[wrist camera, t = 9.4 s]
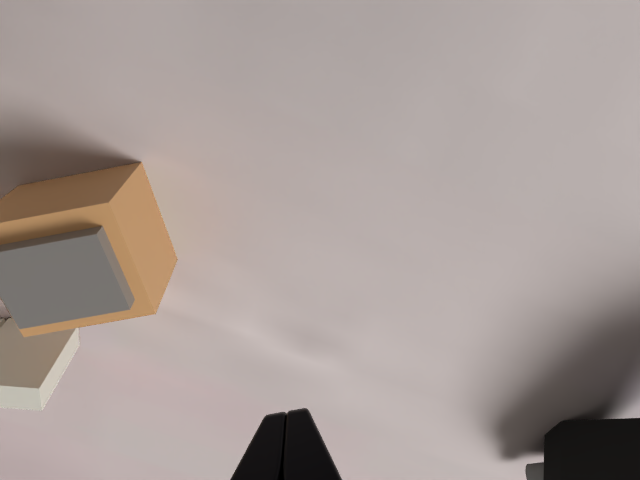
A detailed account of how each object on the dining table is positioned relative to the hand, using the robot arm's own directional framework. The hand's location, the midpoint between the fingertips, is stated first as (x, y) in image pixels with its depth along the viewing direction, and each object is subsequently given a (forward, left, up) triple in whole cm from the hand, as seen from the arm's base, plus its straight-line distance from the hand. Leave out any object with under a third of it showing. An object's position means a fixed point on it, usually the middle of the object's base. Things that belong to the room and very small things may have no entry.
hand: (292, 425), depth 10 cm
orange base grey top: (0, -8, -12) cm, 15 cm away
